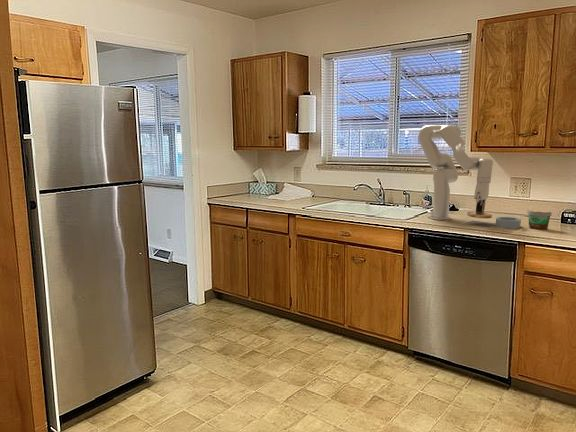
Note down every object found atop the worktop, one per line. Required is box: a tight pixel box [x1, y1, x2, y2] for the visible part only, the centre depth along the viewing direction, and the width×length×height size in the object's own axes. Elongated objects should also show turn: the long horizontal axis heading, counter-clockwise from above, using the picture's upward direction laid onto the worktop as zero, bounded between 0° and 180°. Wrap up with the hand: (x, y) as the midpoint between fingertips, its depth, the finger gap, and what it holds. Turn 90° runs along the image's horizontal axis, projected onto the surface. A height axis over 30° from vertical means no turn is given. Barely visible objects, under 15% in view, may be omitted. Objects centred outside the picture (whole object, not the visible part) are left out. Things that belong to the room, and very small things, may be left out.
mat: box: [463, 220, 496, 228], centre depth 277 cm, size 15×15×1 cm
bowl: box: [495, 216, 522, 229], centre depth 269 cm, size 12×12×5 cm
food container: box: [527, 209, 553, 231], centre depth 263 cm, size 12×6×10 cm, turn 56°
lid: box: [466, 201, 493, 219], centre depth 276 cm, size 14×14×8 cm
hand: (480, 210), depth 276 cm, fingers closed on lid, 3 cm apart
